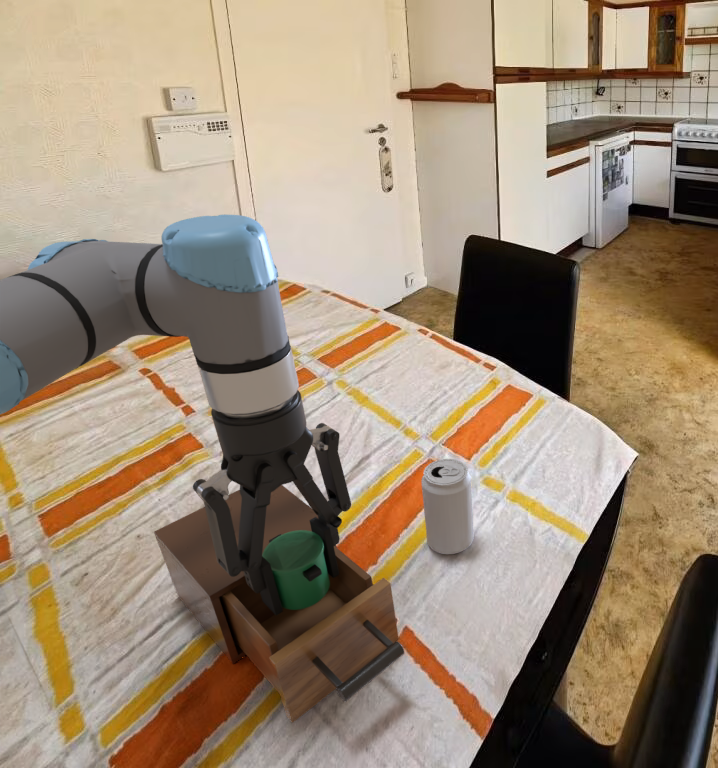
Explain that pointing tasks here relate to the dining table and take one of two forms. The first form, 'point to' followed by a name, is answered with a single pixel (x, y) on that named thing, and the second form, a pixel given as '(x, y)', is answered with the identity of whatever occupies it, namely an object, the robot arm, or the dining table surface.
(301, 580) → the green cup
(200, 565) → the cabinet
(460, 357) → the dining table surface
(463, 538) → the beverage can
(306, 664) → the drawer
